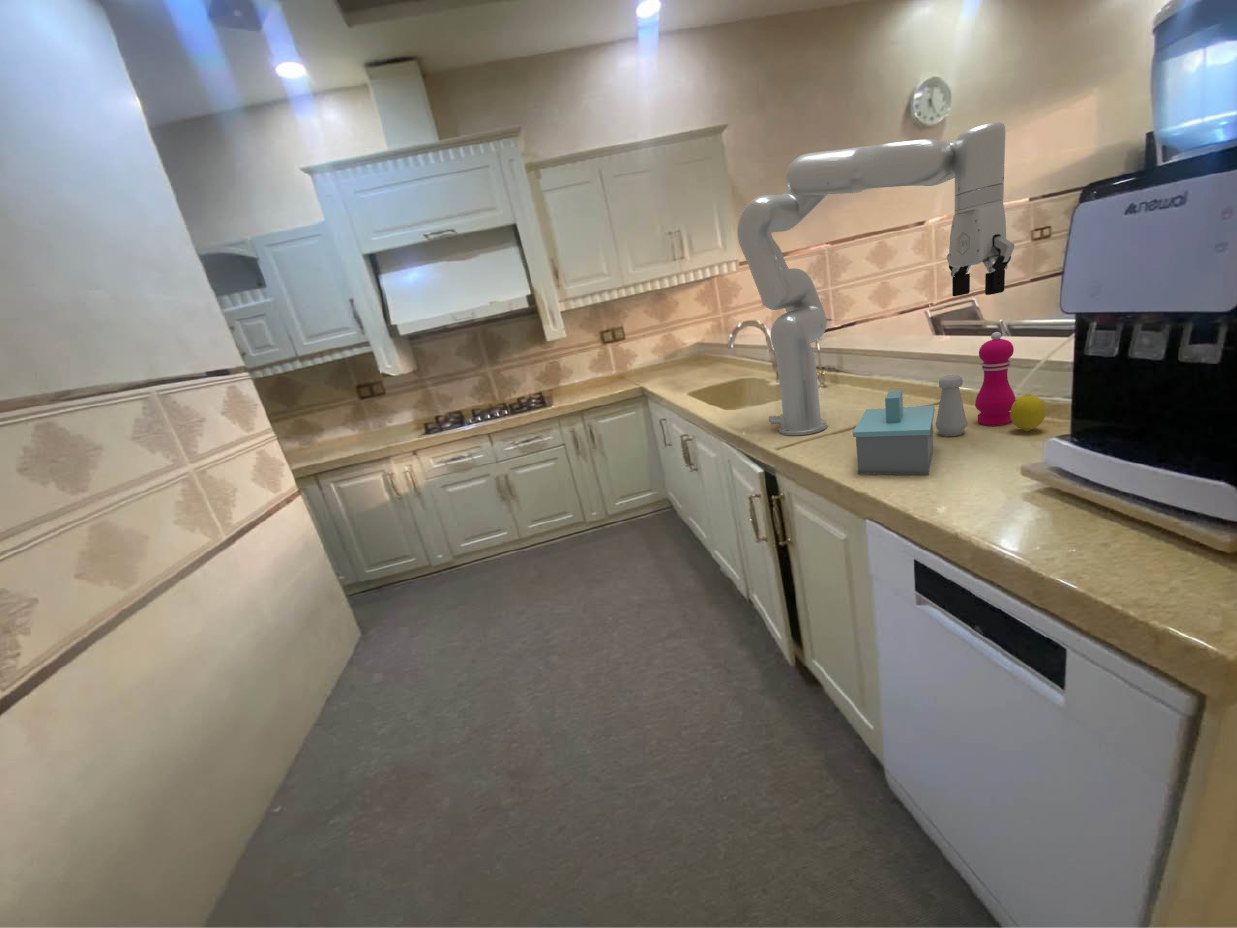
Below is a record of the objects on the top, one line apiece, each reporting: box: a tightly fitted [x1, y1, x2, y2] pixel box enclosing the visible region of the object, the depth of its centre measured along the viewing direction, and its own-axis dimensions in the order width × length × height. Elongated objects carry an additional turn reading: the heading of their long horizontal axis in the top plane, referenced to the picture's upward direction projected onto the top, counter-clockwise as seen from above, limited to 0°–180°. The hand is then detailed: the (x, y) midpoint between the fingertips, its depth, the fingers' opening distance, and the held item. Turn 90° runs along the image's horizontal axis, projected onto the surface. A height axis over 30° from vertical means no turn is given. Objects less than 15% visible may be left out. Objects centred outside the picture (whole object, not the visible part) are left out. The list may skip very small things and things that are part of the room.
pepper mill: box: [974, 331, 1017, 426], centre depth 108 cm, size 7×7×20 cm
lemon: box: [1009, 393, 1046, 432], centre depth 100 cm, size 6×6×8 cm
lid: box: [852, 389, 936, 438], centre depth 98 cm, size 13×17×7 cm
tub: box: [855, 422, 934, 476], centre depth 100 cm, size 12×16×8 cm
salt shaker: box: [935, 374, 968, 437], centre depth 107 cm, size 6×6×13 cm
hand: (977, 294), depth 98 cm, fingers open, 9 cm apart
